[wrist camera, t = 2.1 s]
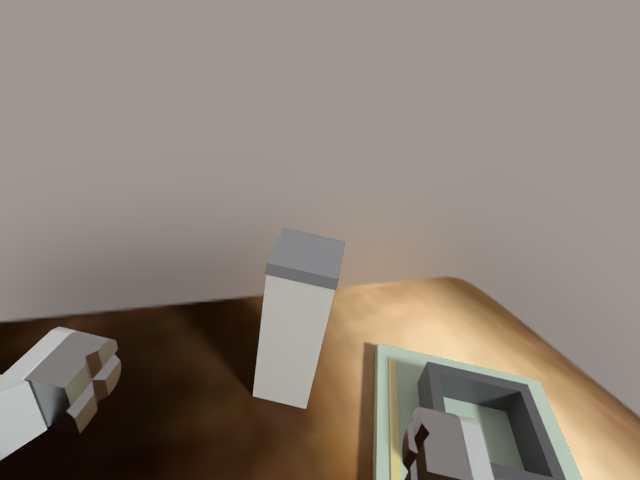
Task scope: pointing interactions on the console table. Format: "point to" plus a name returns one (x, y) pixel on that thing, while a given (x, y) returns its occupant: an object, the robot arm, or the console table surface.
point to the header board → (468, 414)
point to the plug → (295, 314)
